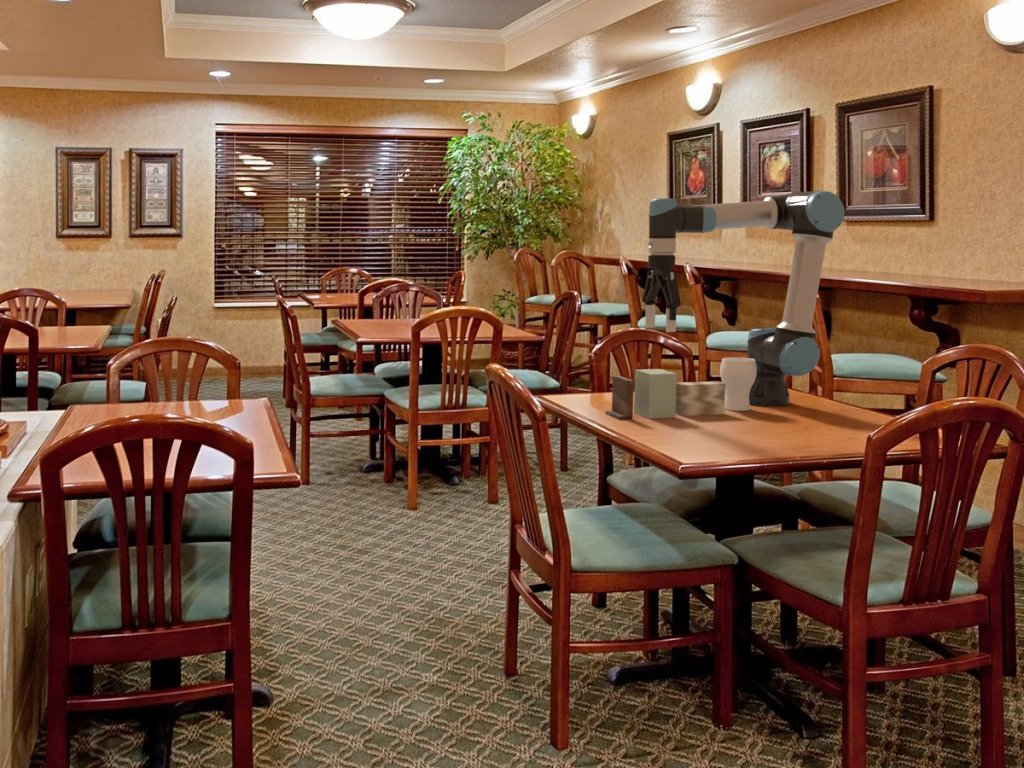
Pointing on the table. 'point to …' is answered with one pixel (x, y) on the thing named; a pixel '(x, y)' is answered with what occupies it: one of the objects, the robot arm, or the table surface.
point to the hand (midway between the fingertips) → (660, 329)
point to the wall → (622, 398)
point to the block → (655, 393)
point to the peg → (700, 398)
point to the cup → (738, 381)
